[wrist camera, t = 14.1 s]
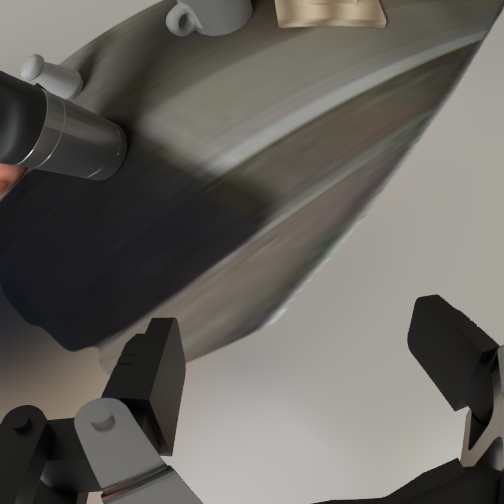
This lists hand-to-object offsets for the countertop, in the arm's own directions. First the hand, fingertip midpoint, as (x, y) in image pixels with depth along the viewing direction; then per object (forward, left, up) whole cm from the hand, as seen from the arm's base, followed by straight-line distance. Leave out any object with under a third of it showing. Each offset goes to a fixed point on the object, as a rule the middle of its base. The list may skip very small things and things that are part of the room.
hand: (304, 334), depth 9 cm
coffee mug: (-10, +37, -29) cm, 48 cm away
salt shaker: (-36, +31, -29) cm, 56 cm away
